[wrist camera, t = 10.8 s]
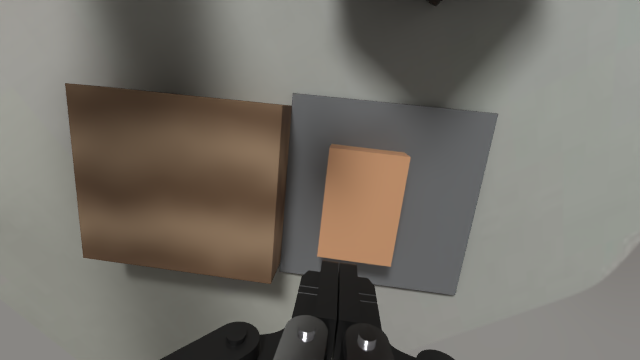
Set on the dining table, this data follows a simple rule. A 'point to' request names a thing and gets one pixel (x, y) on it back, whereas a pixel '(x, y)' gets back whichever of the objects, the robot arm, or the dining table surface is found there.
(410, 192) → the mat
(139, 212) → the brown box
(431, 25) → the dining table surface
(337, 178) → the orange tan block
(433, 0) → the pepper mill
